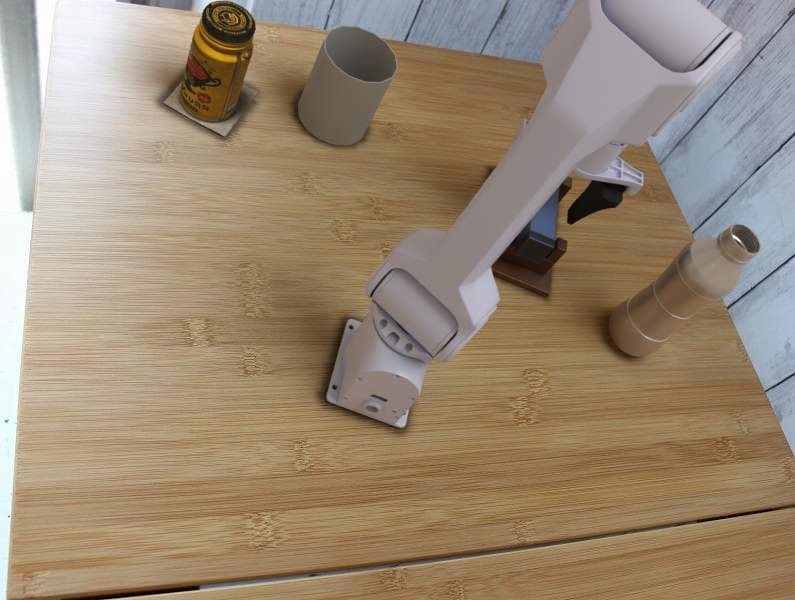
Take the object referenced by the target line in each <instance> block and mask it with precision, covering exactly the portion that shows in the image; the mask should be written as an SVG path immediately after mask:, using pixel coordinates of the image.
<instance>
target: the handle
mask: <svg viewBox="0 0 795 600" xmlns="http://www.w3.org/2000/svg"><path fill="white" fill-rule="evenodd" d="M558 196H559V187H558V188H557V189H556V191H555V192H554V193H553V194H552V195H551V196H550V198H549V199H548V200H547V201H546V202H545V204H544V205H543V206H542V207H541V208H540V209H539V211H538V212H537V213H536V214H535V215H534V216H533V218H532V219H531V220H530V221H529V222H528V223H527V225H526V226H525V227H524V228H523V229H522V231H521V232H520V233H519V234H518V236H517V244H516V248H515V254H517V255H520V256H522V257H525V258H527V259H529V260H532V261H534V262H536V263H540V262H541V261H542V260H543V259H544V258H545V257H546V256H547V255H548V254H549V253H550V252H551V250H552V249H553V248H554V242H555V240H556V233H555V228H556V229H557V222H556V217H557V218H558V212H557V206H558V207H559V203H558ZM554 238H555V240H554Z"/></svg>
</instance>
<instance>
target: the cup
mask: <svg viewBox="0 0 795 600" xmlns="http://www.w3.org/2000/svg"><path fill="white" fill-rule="evenodd" d="M398 65H399V64H398V58H397V54H396V53H395V51H394V50H393V49H392V47H391V46H390V44H389V43H388V42H386V41H385V40H384V39H383V38H382V37H380V36H378V34H376V33H375V32H372V31H370V30H367V29H366V28H362V27H360V26H353V25H340V26H337V27H335V28H332V29H329V31H328V33H327V34H326V35H325V37H324V39H323V41H322V43H321V46H320V49H319V51H318V54H317V56H316V58H315V61H314V64H313V66H312V69H311V70H310V72H309V73H310V74H309V76H308V78H307V80H306V84H305V85H304V88H303V91H302V93H301V95H300V98H299V101H298V103H297V114H298V119H299V120H300V122H301V124H302V125H303V127H304V128H305V130H306V131H307V132H308V133H310V134H311V135H312V136H314V137H315V138H317V139H318V140H319V141H322V142H325V143H328V144H330V145H333V146H352V145H353V144H355V143H357V142H359V141H362V139H363V137H364V135H365V133H366V131H367V129H368V128H369V126H370V123H371V121H372V120H373V118H374V116H375V114H376V112H377V111H378V108H379V107H380V105H381V102H382V100H383V98H384V96H385V95H386V92H387V90H388V89H389V87H390V85H391V82H392V81H393V79H394V77H395V75H396V73H397V72H398V69H399V67H398Z"/></svg>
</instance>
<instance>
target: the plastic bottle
mask: <svg viewBox="0 0 795 600" xmlns="http://www.w3.org/2000/svg"><path fill="white" fill-rule="evenodd" d="M761 250H762V244H761V241H760V239H759V237H758V235H757V234H756V233H755V231H753V230H752V229H751V228H750V227H748V226H747V225H745V224H743V223H739V222H738V223H734V224H730V226H729V227H728V228H727V229H725V230H723V231H721V232H720V233H718V235H717V237H701V238H697V239H695V240H692V241H690V242H688V243H687V244H685V246H684V247H683V248H682V249H681V250H680V251H679V252H678V254H677V255H676V256H675V257H674V259H673V260H672V261H671V262H670V264H668V266H667V267H666V268H665V269H664V270H663V271H662V273H661V274H660V275H659V276H658V277H656V278H655V279H654V280H653V282H651V283H650V284H649V285H647V286H646V287H644V288H642V290H640V291H639V292H637V293H636V294H634V295H632V296H630V297H628V298H626V299H625V300H623V301H622V302H620V303H619V304H618V305H617V306H616V307H615V308H614V309H613V311H612V313H611V315H610V317H609V319H608V321H609V322H608V330H609V331H608V332H609V335H610V338H611V340H612V341H613V343H614V344H615V345H616V347H617V348H618V349H619V350H621V352H623V353H625V354H626V355H627V356H628V355H629V356H631V357H637V358H644V357H647V356H650V355H652V354H654V353H656V352H658V351H659V350H660V349H661V348H662V347H663V346H664V345H665V344H666V343H667V341H668V340H669V339H670V337H671V335H672V334H674V333H675V332H676V331H677V330H678V329H679V328H680V327H681V326H682V325H683V324H684V323H685V322H686V321H688V320H689V319H690V318H692V317H693V316H694V315H696V314H698V313H699V312H701V311H702V310H703V309H705V308H707V307H709V306H711V305H712V304H715V303H716V302H718V301H720V300H721V299H724V298H726V297H727V296H728V295H730V294H731V293H733V291H734V290H735V289H736V287H737V285H738V284H739V281H740V277H741V274H742V268H743V266H746V265H748V264H749V263H750V262H751V261H752V259H753V258H755V257H756V256H757V255H758V254H760V252H761Z"/></svg>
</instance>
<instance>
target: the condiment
mask: <svg viewBox="0 0 795 600" xmlns="http://www.w3.org/2000/svg"><path fill="white" fill-rule="evenodd" d="M201 14H202V15H201V18H200V20H199V21H198V22H199V23H198V24H197V25H196V26H195V29H194V31H193V34H192V35H193V36H192V39H191V43H190V47H189V51H188V56H187V61H186V63H185V64H186V65H185V67H184V72H183V77H182V80H181V81H180V83H179V84H178V85H177V86H176V87H175V89H174V90H173V91H172V92H171V93H170V94H169V95H168V97H167V98H166V99H165V100H164V101H163V102H162V103H163V104H164V105H167V106H168V107H170V108H172V109H173V110H175V111H177V112H178V113H180V114H181V115H183V116H185V117H187V118H188V119H190V120H192V121H194V122H196V123H198V124H200V125H202V126H203V127H205V128H207V129H209V130H212V131H214V132H215V133H217V134H219V135H220V136H222V137H224V138H226V136H227V135H228V133H229V132H230V131H231V129H232V128H233V127H234V126H235V124H236V122H238V120H239V119H240V118H241V116H242V115H243V114H244V112H245V111H246V109H247V108H248V107H249V105H250V104H251V103H252V101H254V99H255V97H256V96H257V95H258V93H259V91H258V90H256V89H254V88H251V87H249V86H248V85H245V84H244V82H245V78H246V75H247V72H248V69H249V65H250V62H251V59H252V56H253V54H254V53H253V52H254V42H253V41H254V35H255V33H256V30H257V27H256V20H255V19H254V17H253V15H252V14H251V13H250V11H249V10H247V9H246V8H245V7H243V6H242V5H240V4H238V3H236V2H233V1H229V0H214V1H211V2H209V3H208V4H207V5H205V7H204V8H203V10H202V13H201Z"/></svg>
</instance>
